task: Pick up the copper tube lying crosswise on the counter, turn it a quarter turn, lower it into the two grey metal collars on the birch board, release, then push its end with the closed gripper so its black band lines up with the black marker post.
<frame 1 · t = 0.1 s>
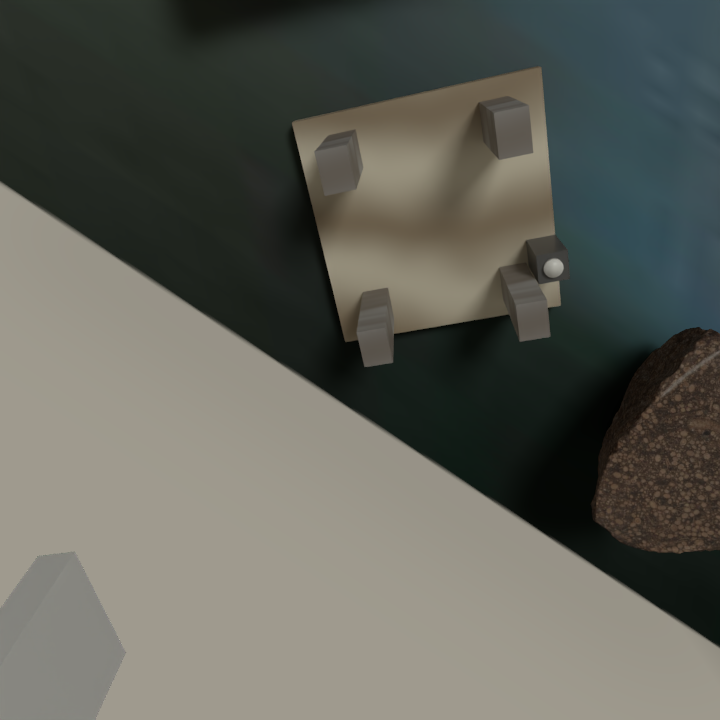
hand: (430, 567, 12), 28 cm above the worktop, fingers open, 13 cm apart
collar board: (432, 214, 36), on the worktop
marker post: (541, 250, 36), resting on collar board
rock: (645, 398, 41), on the worktop
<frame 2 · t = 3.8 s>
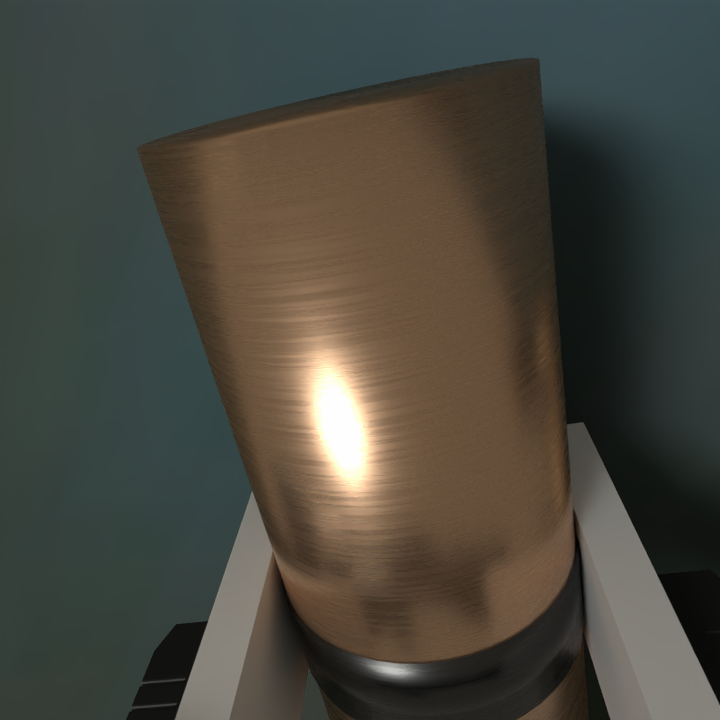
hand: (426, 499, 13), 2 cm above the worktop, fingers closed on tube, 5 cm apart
tube: (386, 496, 14), point 1 cm above the worktop, tilted 22°, touching gripper
when the fingers open (1 cm above the worktop, at t = 7.8 s): tube stays where it is, resting on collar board.
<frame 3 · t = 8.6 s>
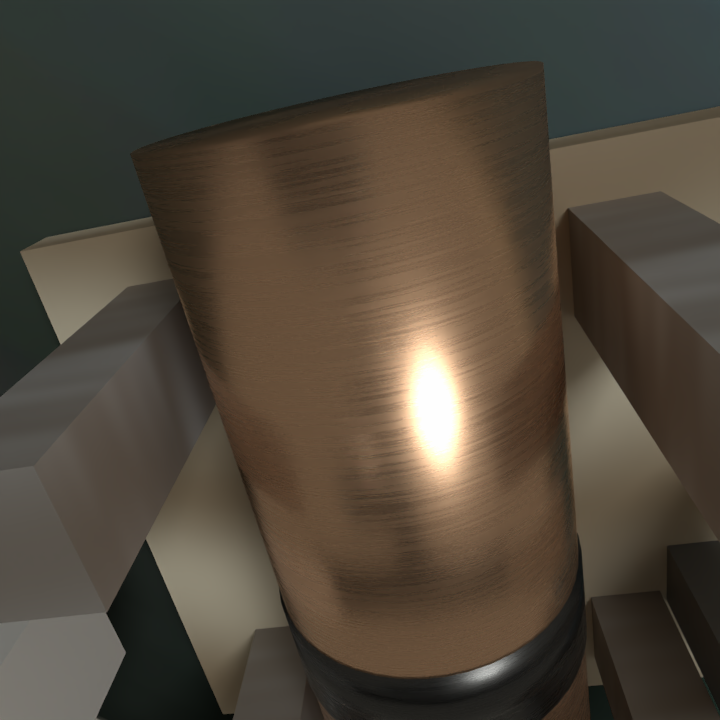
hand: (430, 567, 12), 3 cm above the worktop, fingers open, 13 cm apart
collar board: (424, 464, 14), on the worktop
marker post: (704, 569, 14), resting on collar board
tube: (386, 503, 13), point 1 cm above the worktop, tilted 20°, touching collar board
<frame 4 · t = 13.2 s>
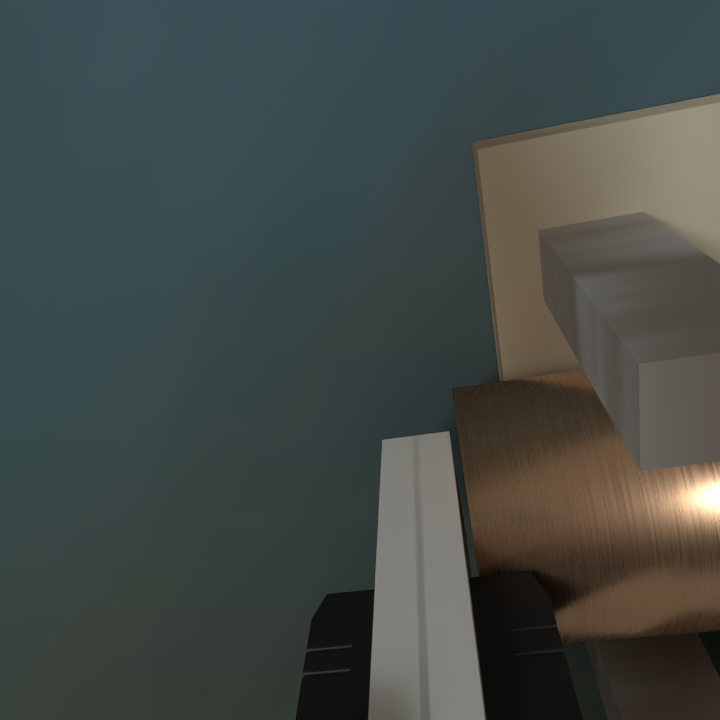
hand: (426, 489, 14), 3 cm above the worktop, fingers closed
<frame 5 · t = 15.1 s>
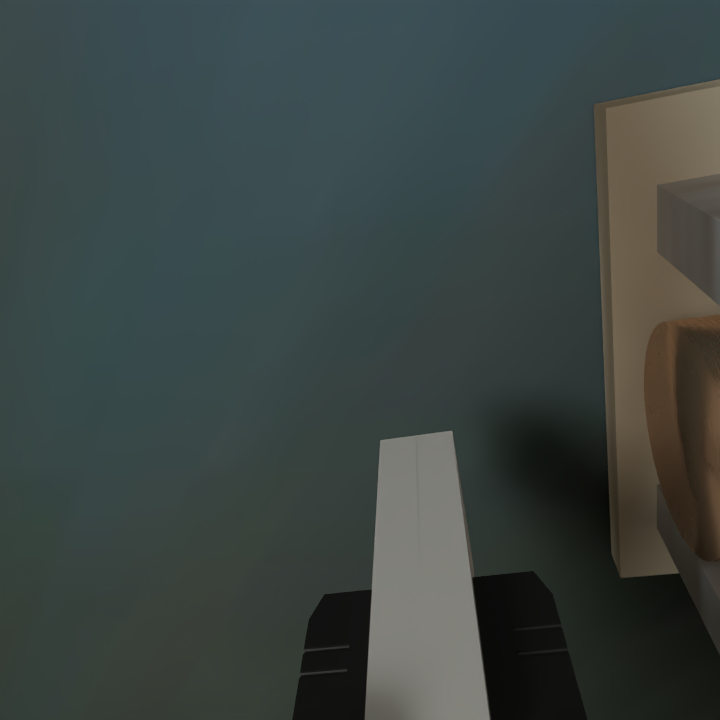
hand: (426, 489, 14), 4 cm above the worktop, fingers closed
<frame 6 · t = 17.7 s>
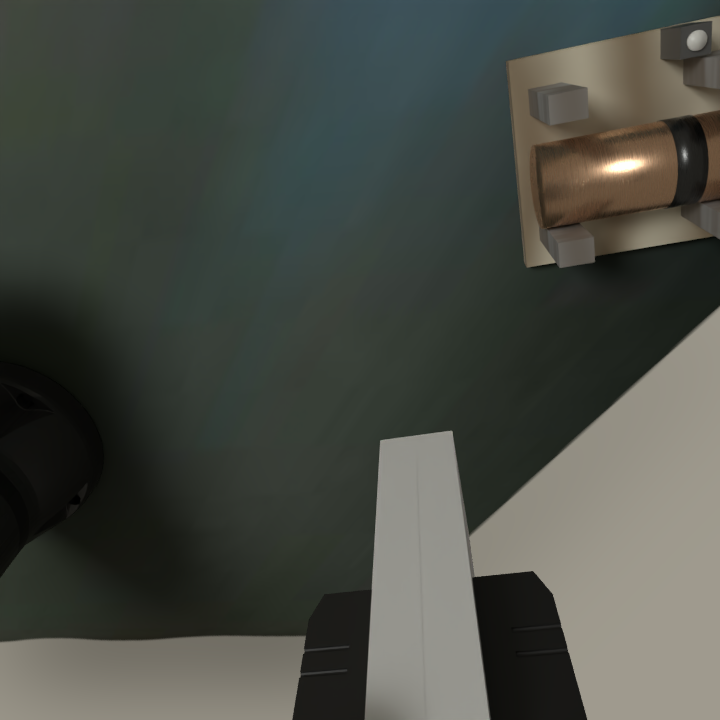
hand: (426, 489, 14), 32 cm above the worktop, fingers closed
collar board: (618, 149, 41), on the worktop
marker post: (674, 41, 37), resting on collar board
tube: (660, 160, 40), point 1 cm above the worktop, tilted 5°, touching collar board
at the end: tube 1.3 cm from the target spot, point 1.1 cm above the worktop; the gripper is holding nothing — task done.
